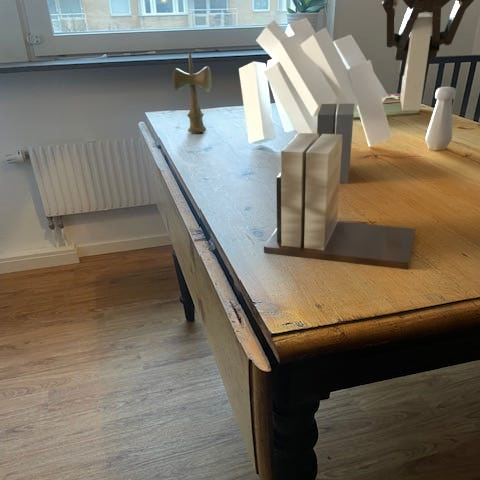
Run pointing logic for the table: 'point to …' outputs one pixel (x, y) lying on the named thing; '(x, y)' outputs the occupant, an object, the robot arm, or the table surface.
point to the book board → (358, 245)
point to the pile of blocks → (310, 82)
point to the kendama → (193, 92)
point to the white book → (416, 63)
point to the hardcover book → (390, 107)
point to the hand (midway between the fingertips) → (412, 69)
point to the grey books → (338, 131)
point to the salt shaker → (441, 120)
